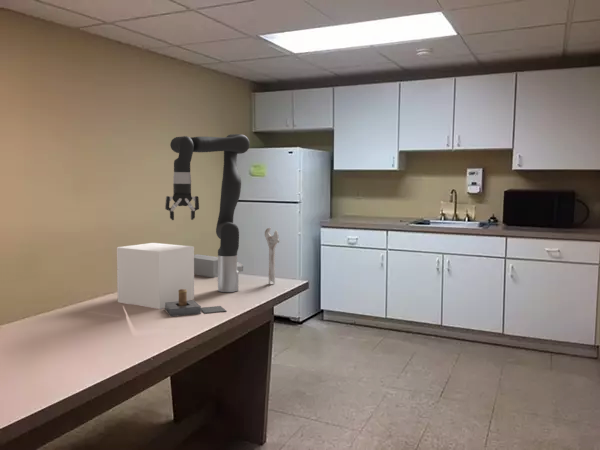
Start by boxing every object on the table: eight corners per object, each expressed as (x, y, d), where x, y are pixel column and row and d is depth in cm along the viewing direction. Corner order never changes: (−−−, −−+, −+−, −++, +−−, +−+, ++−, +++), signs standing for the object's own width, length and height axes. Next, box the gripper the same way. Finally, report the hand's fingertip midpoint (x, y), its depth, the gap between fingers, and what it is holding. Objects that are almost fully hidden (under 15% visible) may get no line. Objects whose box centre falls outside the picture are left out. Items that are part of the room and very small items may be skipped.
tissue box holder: (243, 274, 300) (243, 256, 299) (213, 280, 282) (213, 260, 281) (213, 270, 315) (213, 252, 315) (182, 275, 297) (182, 256, 296)
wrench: (279, 286, 268) (280, 227, 265) (278, 287, 266) (279, 228, 263) (265, 285, 270) (265, 227, 268) (264, 285, 269) (264, 227, 266)
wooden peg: (185, 310, 216) (185, 288, 215) (187, 312, 213) (187, 290, 212) (177, 311, 215) (177, 289, 214) (179, 313, 212) (179, 291, 211)
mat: (220, 306, 223) (220, 305, 223) (226, 311, 215) (226, 310, 215) (199, 308, 219) (199, 307, 219) (204, 313, 211) (204, 312, 211)
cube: (194, 300, 236) (193, 246, 234) (159, 310, 218) (159, 251, 216) (153, 293, 249) (152, 242, 247) (117, 302, 230) (116, 247, 228)
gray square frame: (194, 307, 222) (194, 300, 221) (200, 313, 211) (200, 306, 210) (165, 309, 217) (165, 302, 216) (170, 316, 206) (170, 309, 206)
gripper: (196, 182, 235) (196, 219, 236) (164, 182, 229) (164, 219, 230) (200, 183, 228) (200, 220, 229) (167, 182, 222) (167, 220, 223)
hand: (182, 219), depth 230 cm, fingers open, 8 cm apart
